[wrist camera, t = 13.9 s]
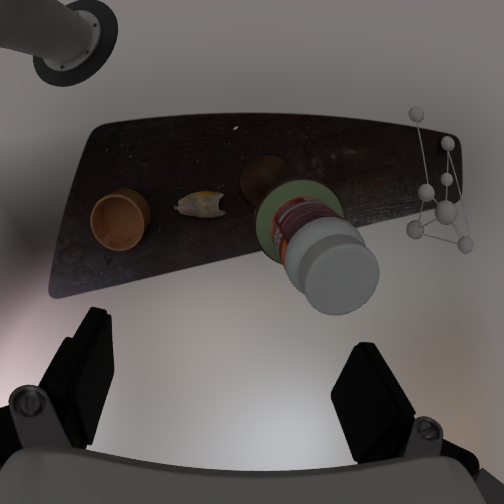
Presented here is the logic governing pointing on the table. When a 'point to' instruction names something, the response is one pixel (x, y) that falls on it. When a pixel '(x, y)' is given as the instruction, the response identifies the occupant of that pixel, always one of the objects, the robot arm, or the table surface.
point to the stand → (267, 181)
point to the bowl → (120, 219)
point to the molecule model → (444, 209)
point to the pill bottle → (323, 255)
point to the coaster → (281, 196)
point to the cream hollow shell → (201, 204)
